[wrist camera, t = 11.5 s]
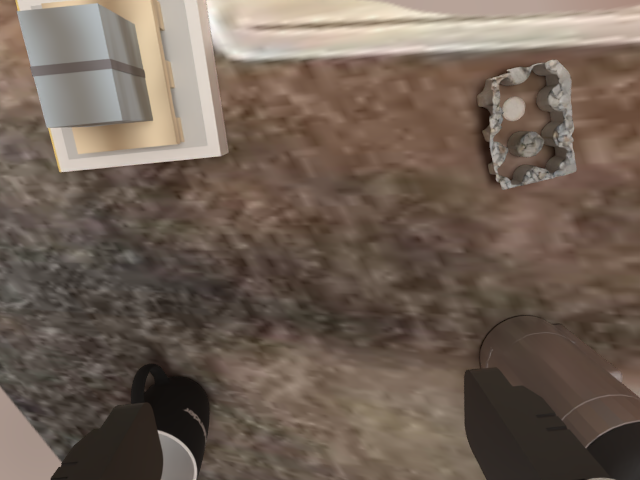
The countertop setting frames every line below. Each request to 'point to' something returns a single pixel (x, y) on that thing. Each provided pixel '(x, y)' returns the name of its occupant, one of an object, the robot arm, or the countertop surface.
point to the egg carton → (530, 143)
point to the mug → (176, 420)
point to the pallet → (155, 81)
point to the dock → (188, 95)
